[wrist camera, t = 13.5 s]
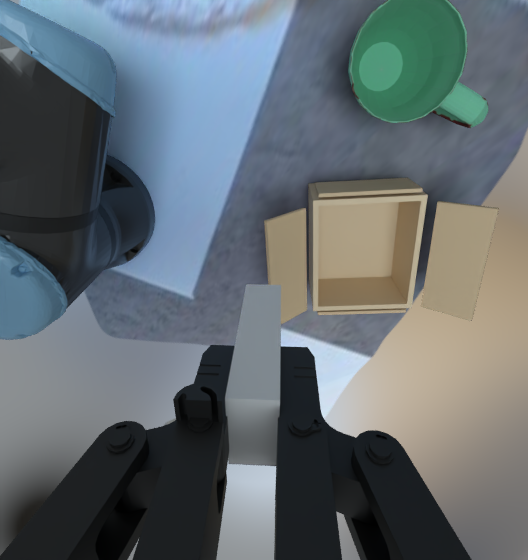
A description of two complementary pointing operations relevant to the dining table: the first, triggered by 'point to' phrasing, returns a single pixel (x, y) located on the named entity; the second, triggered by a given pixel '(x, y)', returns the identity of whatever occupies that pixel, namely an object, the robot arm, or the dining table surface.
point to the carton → (364, 245)
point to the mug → (414, 64)
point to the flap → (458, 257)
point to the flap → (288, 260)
